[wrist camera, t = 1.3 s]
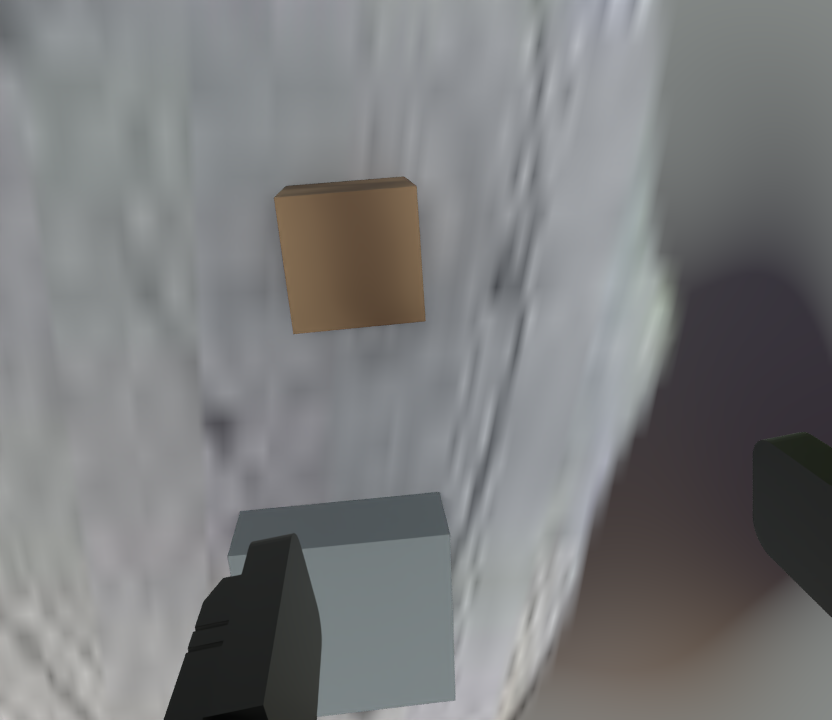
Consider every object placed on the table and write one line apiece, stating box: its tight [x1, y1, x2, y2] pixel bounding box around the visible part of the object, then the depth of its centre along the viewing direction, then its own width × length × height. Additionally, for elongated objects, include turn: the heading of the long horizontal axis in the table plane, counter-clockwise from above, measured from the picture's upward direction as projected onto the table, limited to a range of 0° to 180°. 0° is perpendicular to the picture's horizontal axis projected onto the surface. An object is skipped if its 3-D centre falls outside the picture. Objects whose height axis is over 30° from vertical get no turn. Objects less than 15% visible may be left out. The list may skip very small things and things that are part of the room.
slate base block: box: [228, 492, 455, 717], centre depth 32 cm, size 10×10×4 cm
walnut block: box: [274, 177, 426, 334], centre depth 26 cm, size 5×5×5 cm
